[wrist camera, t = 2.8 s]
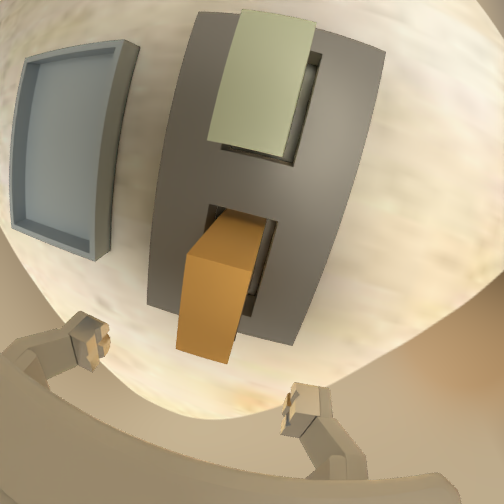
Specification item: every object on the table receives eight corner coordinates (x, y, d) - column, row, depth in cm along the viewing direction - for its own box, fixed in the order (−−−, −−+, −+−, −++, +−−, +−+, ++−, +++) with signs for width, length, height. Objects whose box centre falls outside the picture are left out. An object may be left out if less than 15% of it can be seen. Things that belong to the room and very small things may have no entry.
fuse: (262, 62, 16) (242, 9, 8) (305, 72, 16) (316, 22, 8) (242, 140, 19) (207, 140, 10) (284, 150, 18) (282, 157, 10)
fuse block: (210, 26, 15) (198, 11, 12) (372, 62, 15) (385, 51, 12) (161, 286, 24) (146, 304, 21) (292, 323, 24) (292, 345, 21)
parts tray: (41, 60, 16) (25, 58, 14) (140, 47, 16) (124, 39, 14) (26, 221, 24) (11, 228, 21) (110, 250, 23) (95, 261, 21)
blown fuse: (227, 206, 20) (185, 253, 12) (268, 217, 20) (253, 272, 12) (213, 276, 23) (174, 348, 15) (249, 286, 23) (228, 364, 15)
